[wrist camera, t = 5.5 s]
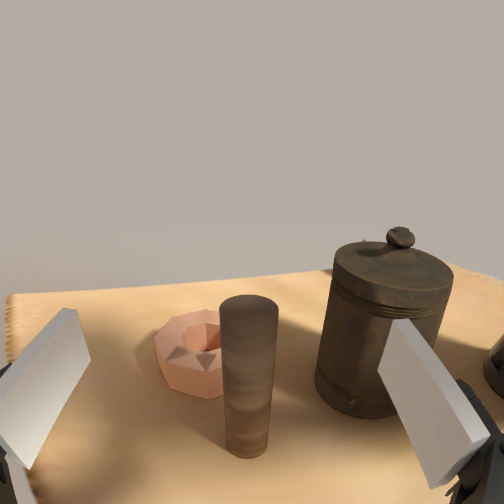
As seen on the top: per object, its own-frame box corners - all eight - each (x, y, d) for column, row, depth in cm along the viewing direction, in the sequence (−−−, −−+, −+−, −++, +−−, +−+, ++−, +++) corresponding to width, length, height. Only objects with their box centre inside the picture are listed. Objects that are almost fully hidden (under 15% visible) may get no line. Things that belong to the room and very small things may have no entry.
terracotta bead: (272, 376, 40) (274, 348, 38) (180, 408, 33) (174, 381, 31) (228, 329, 50) (227, 303, 49) (151, 349, 44) (146, 323, 42)
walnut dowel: (274, 448, 28) (290, 314, 22) (239, 464, 26) (236, 331, 20) (254, 423, 32) (258, 290, 25) (220, 437, 29) (209, 302, 23)
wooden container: (384, 343, 46) (413, 213, 38) (430, 402, 32) (488, 249, 24) (301, 357, 44) (317, 211, 36) (334, 431, 30) (380, 255, 22)
